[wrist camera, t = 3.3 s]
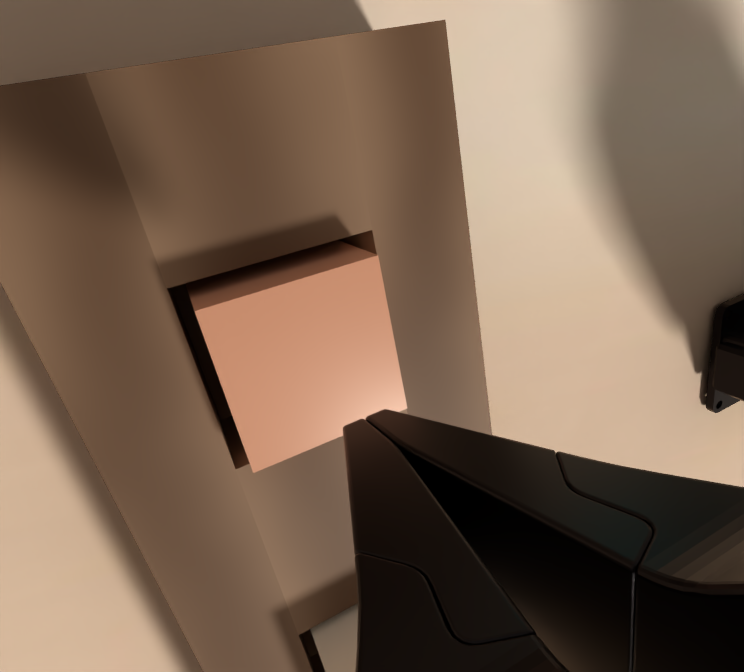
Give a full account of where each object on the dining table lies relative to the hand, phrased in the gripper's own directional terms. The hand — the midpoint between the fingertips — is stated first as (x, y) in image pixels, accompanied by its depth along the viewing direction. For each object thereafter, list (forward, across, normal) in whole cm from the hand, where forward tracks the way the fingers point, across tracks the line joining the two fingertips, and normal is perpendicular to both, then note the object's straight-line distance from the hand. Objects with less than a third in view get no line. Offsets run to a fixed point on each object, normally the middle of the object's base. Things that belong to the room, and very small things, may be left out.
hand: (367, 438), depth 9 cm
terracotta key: (+7, 0, 0) cm, 7 cm away
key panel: (+8, 0, +6) cm, 10 cm away
